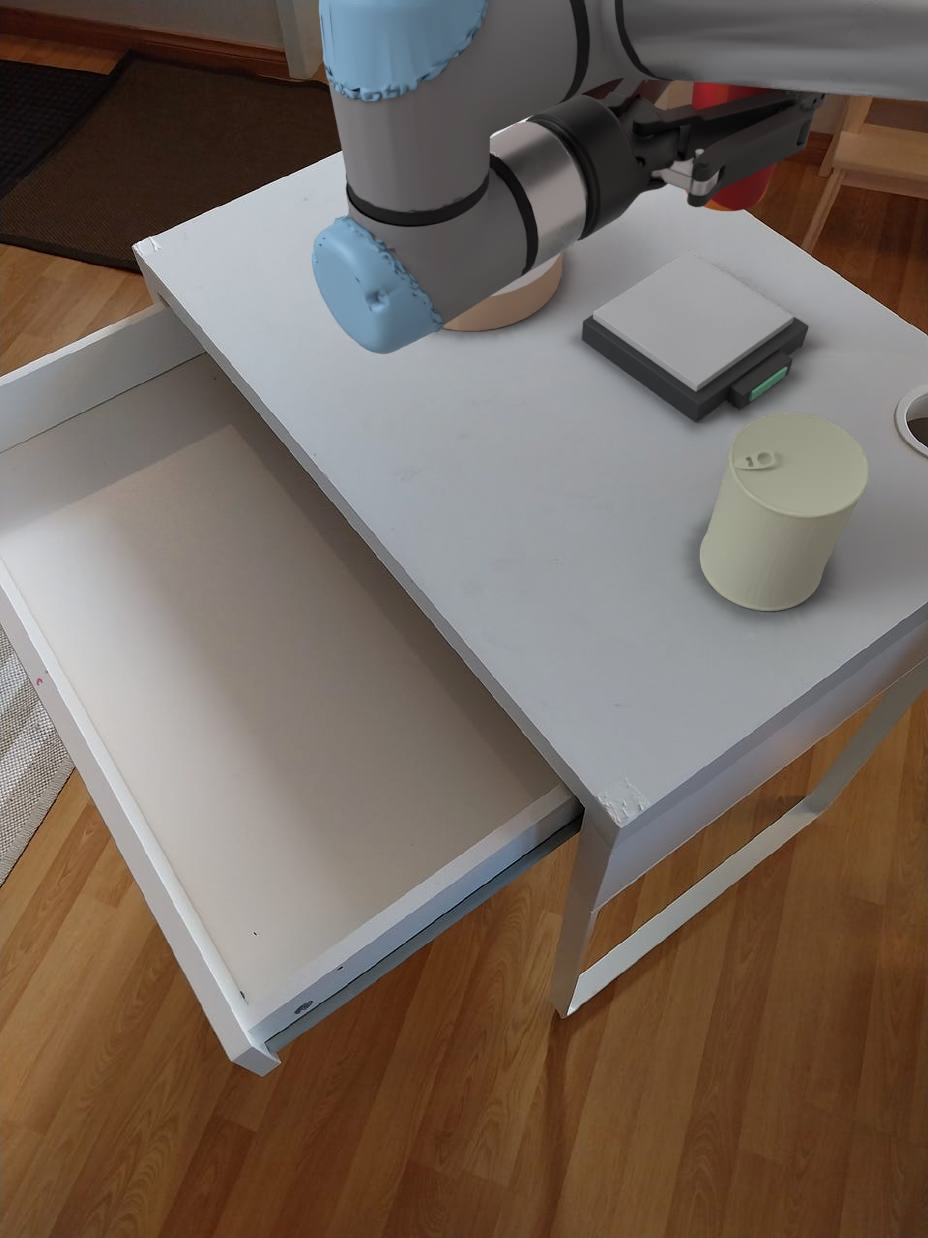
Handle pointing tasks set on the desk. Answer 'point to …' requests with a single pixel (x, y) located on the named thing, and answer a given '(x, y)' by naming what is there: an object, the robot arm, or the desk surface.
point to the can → (781, 509)
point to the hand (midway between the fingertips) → (797, 40)
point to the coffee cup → (750, 187)
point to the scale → (696, 337)
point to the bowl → (513, 299)
